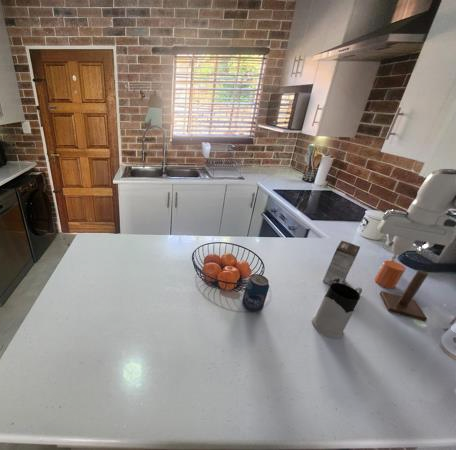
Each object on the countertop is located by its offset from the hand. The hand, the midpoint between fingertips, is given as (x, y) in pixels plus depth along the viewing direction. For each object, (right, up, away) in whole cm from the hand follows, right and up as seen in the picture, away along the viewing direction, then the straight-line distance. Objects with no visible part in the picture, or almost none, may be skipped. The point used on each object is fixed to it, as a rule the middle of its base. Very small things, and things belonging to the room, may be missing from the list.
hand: (404, 248), depth 93 cm
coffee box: (-21, -14, +8) cm, 27 cm away
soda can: (-60, -20, -7) cm, 64 cm away
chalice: (+8, -11, +16) cm, 21 cm away
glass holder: (-36, -24, -13) cm, 45 cm away
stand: (-6, -21, -4) cm, 22 cm away
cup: (0, -15, +7) cm, 17 cm away
